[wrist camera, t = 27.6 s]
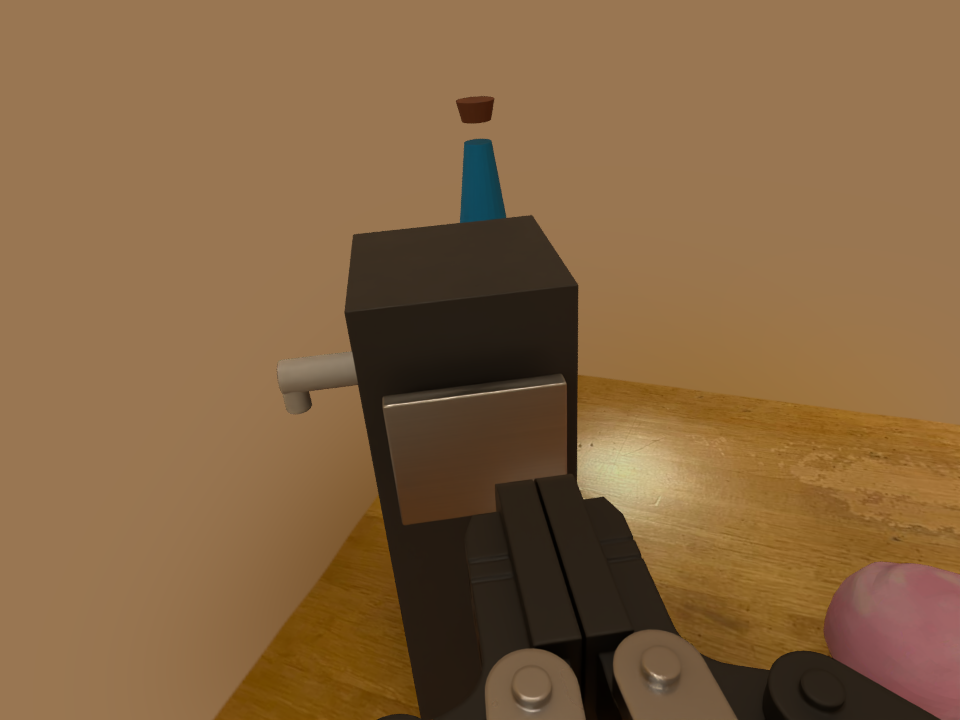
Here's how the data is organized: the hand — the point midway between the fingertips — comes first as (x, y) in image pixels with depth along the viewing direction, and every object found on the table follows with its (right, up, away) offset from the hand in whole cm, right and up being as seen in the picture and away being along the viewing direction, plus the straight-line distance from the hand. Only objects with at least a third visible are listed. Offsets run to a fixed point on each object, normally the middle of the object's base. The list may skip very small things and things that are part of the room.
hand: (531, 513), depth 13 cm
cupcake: (+21, -17, +23) cm, 36 cm away
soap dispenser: (-3, -15, +29) cm, 33 cm away
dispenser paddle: (-1, -3, +15) cm, 16 cm away
